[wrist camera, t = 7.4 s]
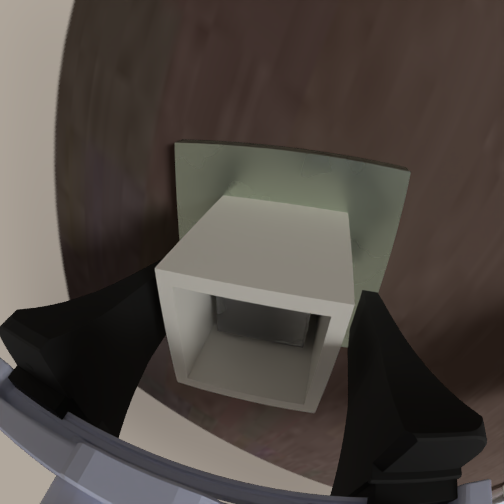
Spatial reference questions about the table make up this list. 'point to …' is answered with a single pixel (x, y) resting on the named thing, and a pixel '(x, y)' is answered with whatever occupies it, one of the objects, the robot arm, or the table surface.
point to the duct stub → (298, 193)
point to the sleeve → (259, 298)
